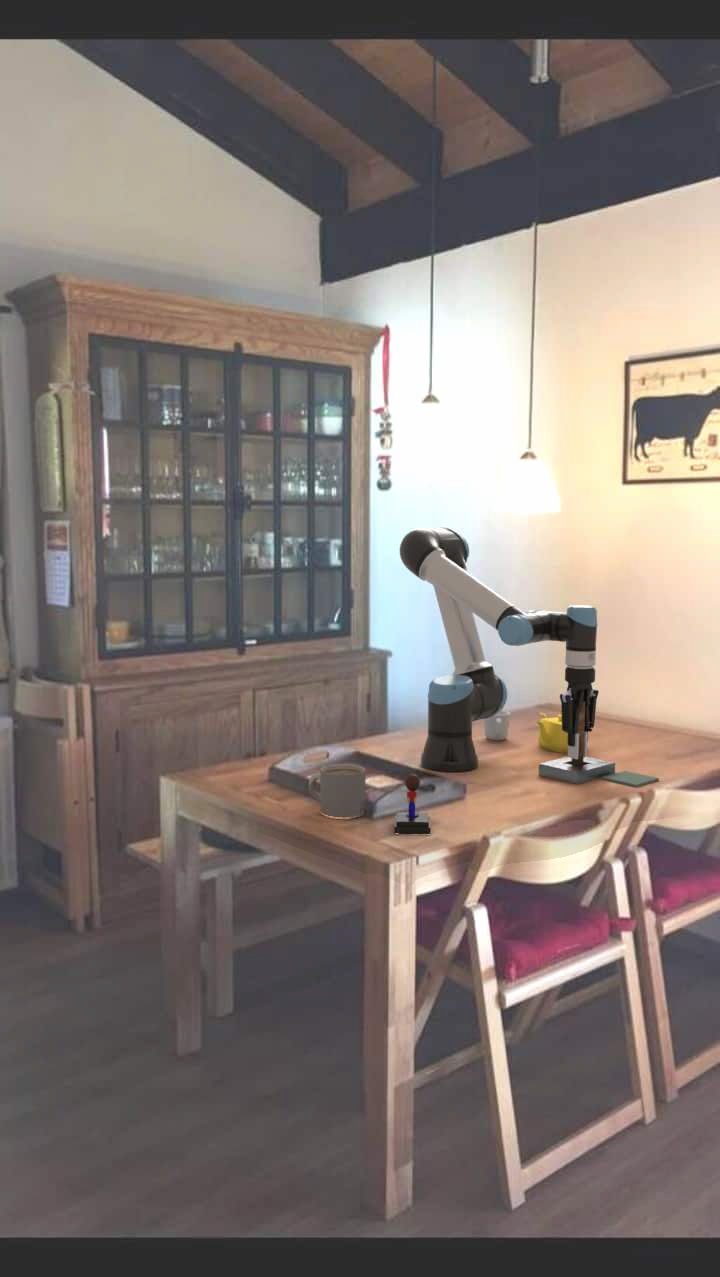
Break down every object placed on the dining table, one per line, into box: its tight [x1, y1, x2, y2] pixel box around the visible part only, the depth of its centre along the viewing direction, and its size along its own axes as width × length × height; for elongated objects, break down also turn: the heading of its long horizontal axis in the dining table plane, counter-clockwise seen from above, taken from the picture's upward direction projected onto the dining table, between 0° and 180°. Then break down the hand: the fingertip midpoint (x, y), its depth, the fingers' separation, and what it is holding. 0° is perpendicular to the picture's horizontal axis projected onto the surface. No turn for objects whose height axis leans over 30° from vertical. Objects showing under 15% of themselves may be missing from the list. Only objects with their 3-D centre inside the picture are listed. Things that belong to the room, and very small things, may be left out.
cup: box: [483, 710, 511, 741], centre depth 308 cm, size 11×8×8 cm
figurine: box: [393, 773, 431, 835], centre depth 219 cm, size 8×8×12 cm
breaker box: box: [538, 756, 616, 785], centre depth 267 cm, size 16×12×3 cm
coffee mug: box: [308, 763, 366, 818], centre depth 232 cm, size 13×10×10 cm
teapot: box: [534, 712, 568, 754], centre depth 298 cm, size 15×14×10 cm
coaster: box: [601, 770, 660, 788], centre depth 262 cm, size 10×10×1 cm
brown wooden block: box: [571, 702, 585, 766], centre depth 266 cm, size 3×3×18 cm
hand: (577, 756), depth 267 cm, fingers closed on brown wooden block, 3 cm apart
